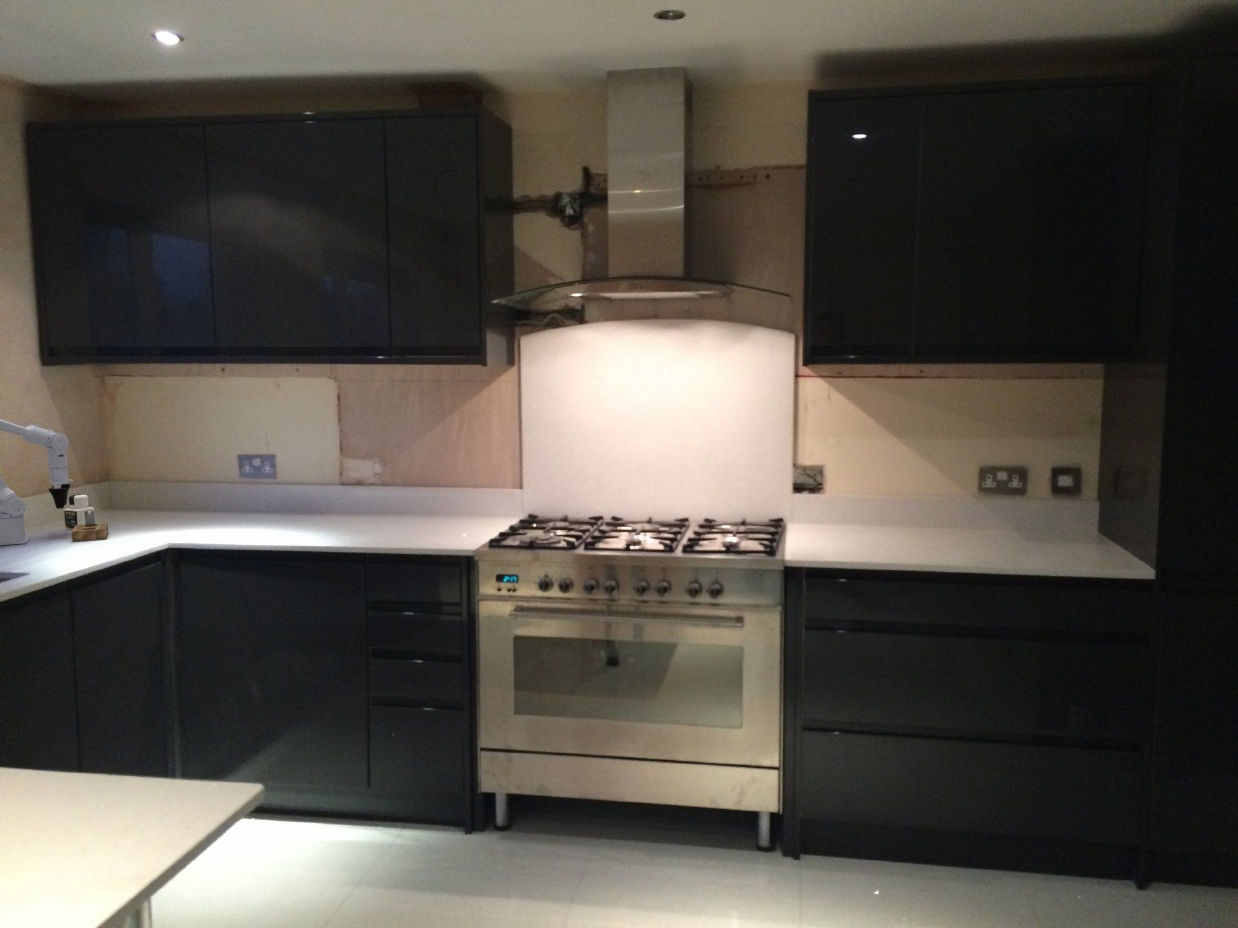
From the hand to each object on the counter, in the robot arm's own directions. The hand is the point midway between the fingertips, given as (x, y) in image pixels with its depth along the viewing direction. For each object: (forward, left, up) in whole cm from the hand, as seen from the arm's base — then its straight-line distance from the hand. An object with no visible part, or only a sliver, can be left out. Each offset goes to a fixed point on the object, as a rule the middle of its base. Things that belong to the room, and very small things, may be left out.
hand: (61, 506), depth 346 cm
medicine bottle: (+4, +14, -10) cm, 18 cm away
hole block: (+9, -9, -10) cm, 16 cm away
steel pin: (+9, -6, -9) cm, 14 cm away
